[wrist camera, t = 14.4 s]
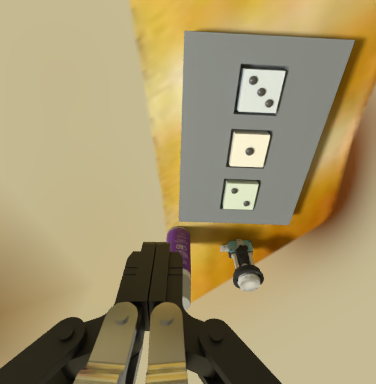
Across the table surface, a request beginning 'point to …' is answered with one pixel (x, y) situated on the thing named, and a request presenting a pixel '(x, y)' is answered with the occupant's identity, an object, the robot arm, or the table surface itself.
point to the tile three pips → (259, 90)
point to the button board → (253, 120)
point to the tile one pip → (248, 147)
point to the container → (181, 244)
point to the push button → (243, 265)
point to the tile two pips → (239, 194)
